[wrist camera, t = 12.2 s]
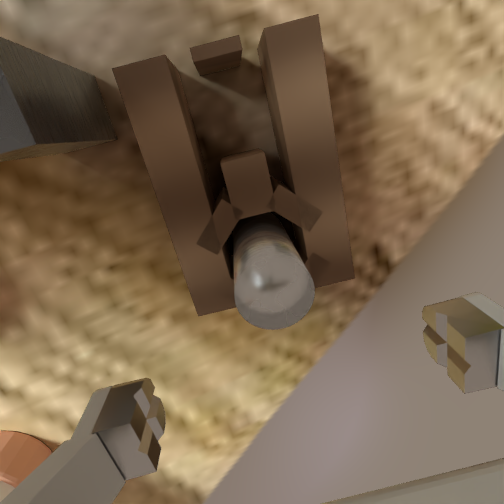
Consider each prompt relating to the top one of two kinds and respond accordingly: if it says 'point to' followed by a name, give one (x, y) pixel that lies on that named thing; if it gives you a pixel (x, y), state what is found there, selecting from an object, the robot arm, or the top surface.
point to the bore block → (244, 160)
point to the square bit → (47, 106)
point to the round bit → (269, 274)
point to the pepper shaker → (18, 459)
